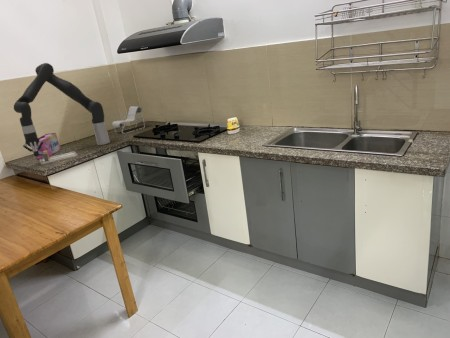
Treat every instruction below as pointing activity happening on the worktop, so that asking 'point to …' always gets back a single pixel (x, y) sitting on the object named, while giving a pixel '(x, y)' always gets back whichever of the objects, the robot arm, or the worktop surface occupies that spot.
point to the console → (59, 157)
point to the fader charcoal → (45, 156)
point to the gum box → (48, 145)
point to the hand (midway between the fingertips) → (36, 156)
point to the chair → (129, 118)
